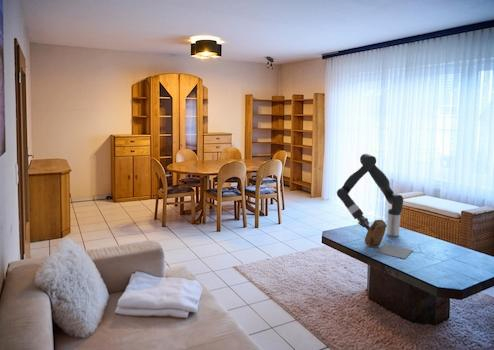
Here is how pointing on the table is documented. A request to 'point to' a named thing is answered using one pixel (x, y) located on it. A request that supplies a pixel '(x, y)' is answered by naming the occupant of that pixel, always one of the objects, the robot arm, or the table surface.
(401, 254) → the mat
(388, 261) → the table surface
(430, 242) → the table surface
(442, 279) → the table surface
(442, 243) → the table surface
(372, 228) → the rough sandstone rock
